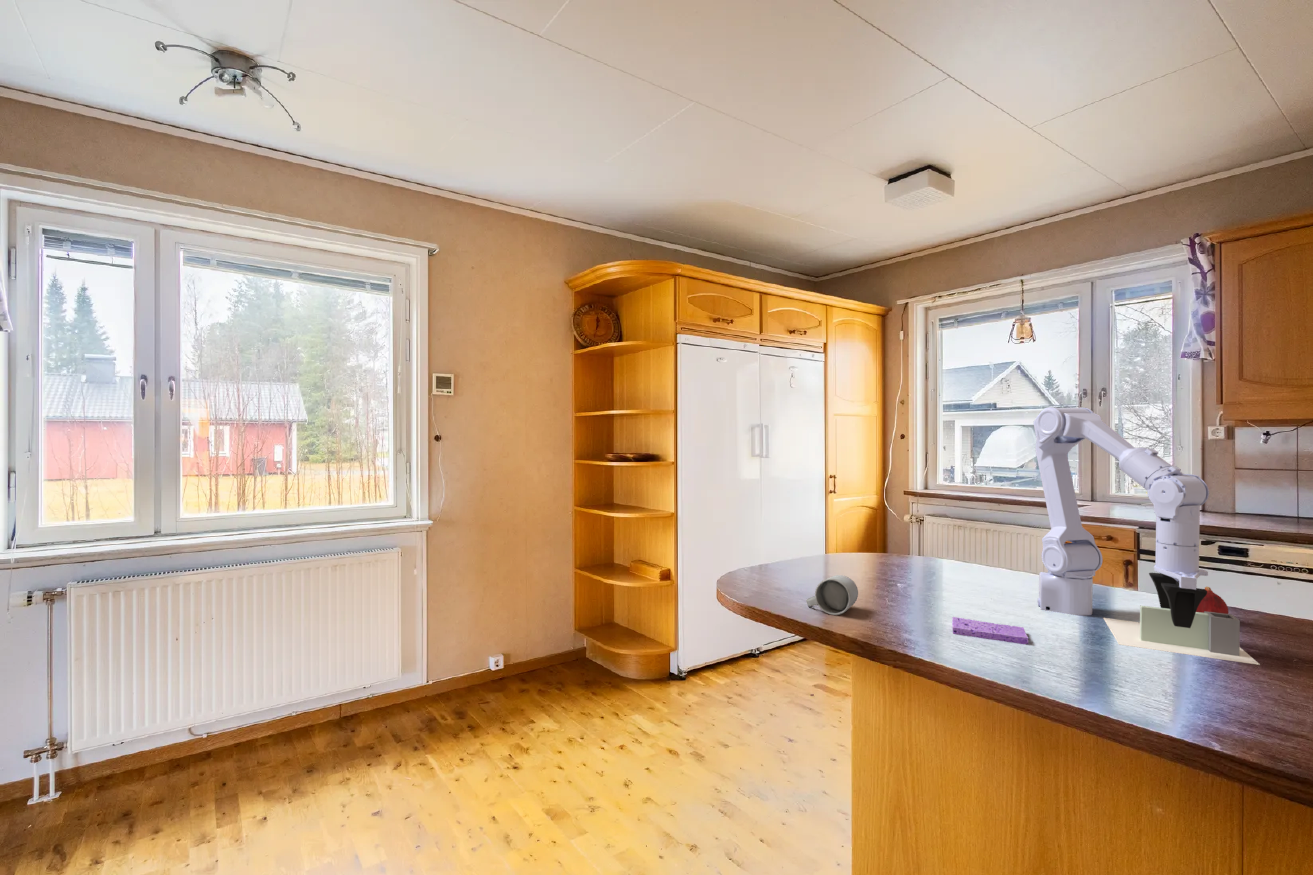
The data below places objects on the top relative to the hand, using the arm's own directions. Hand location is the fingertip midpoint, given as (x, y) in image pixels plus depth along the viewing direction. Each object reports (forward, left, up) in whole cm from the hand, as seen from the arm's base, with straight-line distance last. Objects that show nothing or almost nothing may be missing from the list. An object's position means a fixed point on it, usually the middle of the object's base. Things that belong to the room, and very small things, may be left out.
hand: (1175, 620), depth 103 cm
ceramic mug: (-59, -5, -6) cm, 59 cm away
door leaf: (+2, 0, -4) cm, 4 cm away
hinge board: (0, +3, -6) cm, 7 cm away
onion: (+9, +21, -6) cm, 24 cm away
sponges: (-29, -5, -7) cm, 30 cm away
